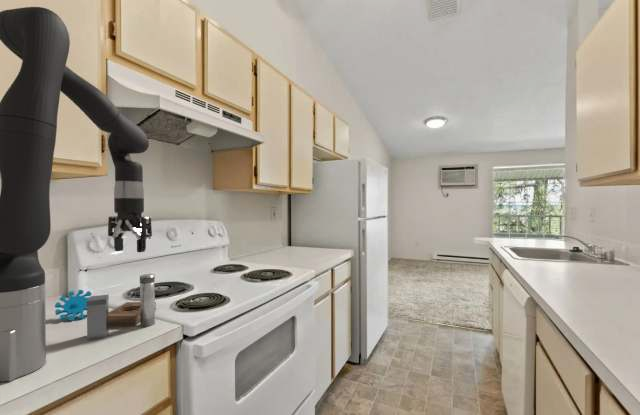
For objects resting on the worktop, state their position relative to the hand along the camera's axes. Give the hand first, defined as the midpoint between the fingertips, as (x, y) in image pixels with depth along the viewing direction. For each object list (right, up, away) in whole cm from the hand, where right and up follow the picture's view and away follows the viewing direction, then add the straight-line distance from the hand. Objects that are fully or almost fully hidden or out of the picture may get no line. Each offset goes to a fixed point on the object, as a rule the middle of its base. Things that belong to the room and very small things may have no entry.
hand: (129, 251), depth 92 cm
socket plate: (0, -20, 0) cm, 20 cm away
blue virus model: (-17, -20, +2) cm, 26 cm away
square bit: (-1, -20, -12) cm, 23 cm away
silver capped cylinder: (+8, -20, -4) cm, 22 cm away
